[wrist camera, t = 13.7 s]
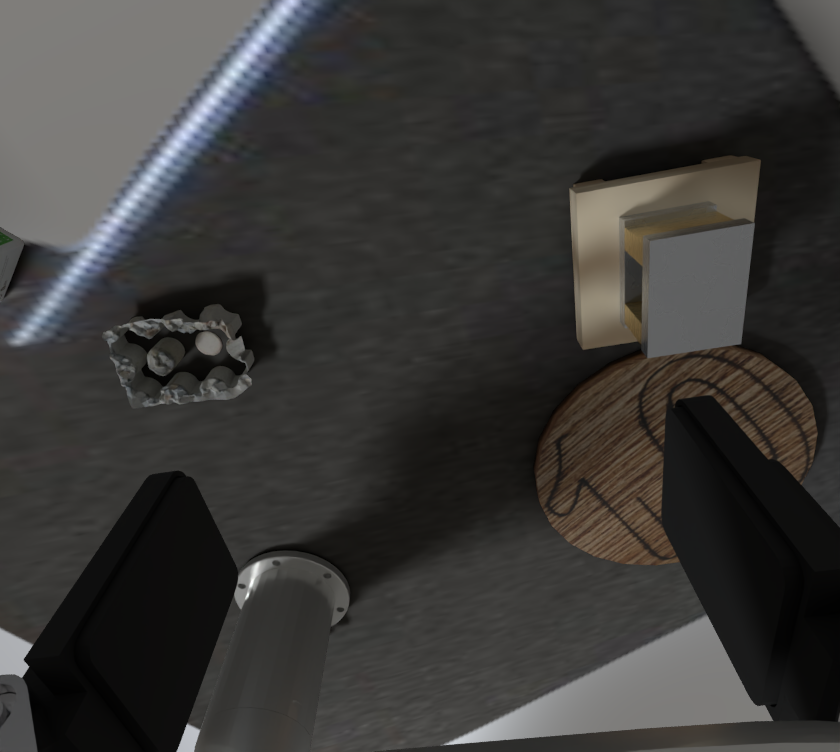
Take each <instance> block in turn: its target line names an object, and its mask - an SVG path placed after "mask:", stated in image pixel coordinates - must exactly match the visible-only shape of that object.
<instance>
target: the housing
mask: <svg viewBox="0 0 840 752" xmlns="http://www.w3.org/2000/svg"><path fill="white" fill-rule="evenodd" d="M754 226H755V223H754V222H752V221H750V220H747V219H745V218H742V219H736V220H733V219H731V218H729V217H727V216H725V215H723V214H721V213H719V212H717V205H716V204H714V203H712V202H710V201H707V202H701V203H696V204H690V205H684V206H679V207H673V208H667V209H662V210H656V211H650V212H645V213H639V214H633V215H628V216H622V217H619V281H620V323H621V324H622V326H623V327H624V328H629V330H630V331H631V332H632V334H633V335H634V336H635V337H636V339H637V340H638V341H639V343H640V344H641V351H642V352H643V353H644V354H645V356H646V357H647V358H653V357H660V356H666V355H673V354H679V353H686V352H692V351H699V350H706V349H712V348H719V347H725V346H732V345H738V344H741V341H742V332H743V323H744V314H745V306H746V297H747V288H748V279H749V270H750V261H751V253H752V244H753V235H754Z"/></svg>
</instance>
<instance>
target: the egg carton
mask: <svg viewBox="0 0 840 752" xmlns="http://www.w3.org/2000/svg"><path fill="white" fill-rule="evenodd" d="M241 325H242V322H241V320H240V316H239V314H234V313H230V312H228V311H226V310H225V309H224V308H223V307H222V306H221V305H219V304H214V305H209V306H208V307H204V310H203V312H201V314H200V317H199V320H194V319H191V318H189V317H187V316H185V315H184V314H183V312H182V311H181V310H178V311H175V312H173V313H170V314H168V315H165V316H164V317H163V318H162V319H148V320H145V319H144V318H143V317H142V316H141V317H134V318H132V319H130V321H129V323H128V324H125V325H122V326H114V327H113V328H112V329H111V330H110V331H107V332H103V334H102V338H103V339H104V341H107V342H108V345H109V347H110V359H111V360H112V361H114V363H115V366H116V372H117V373H118V375H119V378H120V381H121V386H124V387H125V388H126V390H127V396H128V399H129V402H130V404H131V407H132V408H134V409H136V408H141V407H147V406H155V405H158V404H162V403H166V404H171V403H173V402H176V403H178V404H184V403H188V402H197V401H205V400H228V399H232V398H235V397H237V396H238V395H240V394H241V393H242V392H243V391H245V390H246V389H247V388H248V387H250V386H251V385H252V381H251V379H250V377H249V376H248V375H247V372H248V371H249V369H250V367H251V366H252V364H253V362H254V356H253V352H252V350H247V349H245V347H244V344H243V340H242V337H241V336H240V337H239V338H236V337H235V334H236V332H237V331H238V329H239V328H240V327H241ZM164 326H166V327H167V328H168V329H169V330H170V331H172V332H173V331H175V330H178V331H180V332H182V333H186V332H189V333H190V334H191V333H193V332H194V331H195V330H196V329H198V330H208V329H221V330H223V331H224V332H225V333H226V335H227V337H228V338H229V339H228V341H227V343H226V344H227V347H226V348H227V351H228V353H229V354H230V355H231V356H232V357H233V358H235V359H237V360H239V361H241V362H243V363H245V364H246V366H247V367H246V369H245V370H244V372H243V374H242V375H239V376H236V375H235V374H234V372H233V371H232V370H231V369H229V368H227V367H224V366H217V367H215V368H213V369H212V370H211V371H210V373H209V374H208V375H207V377H206V378H205V380H204V381H198V380H197V378H196V377H195V376H194V375H192V374H190V373H188V372H179V373H177V374H175V375H174V377H173V378H172V379H171V380H170V382H169V383H168V384H167V385H166V386H165V387H163V386H162V385H161V384H160V383H159V382H158V381H157V380H155V379H153V378H149V377H145V376H144V374H143V372H142V370H141V369H142V368H143V366H144V365H145V364H146V362H147V361H148V367H149V369H151V370H152V371H154V372H155V373H156V374H158V375H161V376H166V375H167V374H169V373H170V372H171V371H172V370H173V369H174V368H175V367H176V366H177V365H178V363H179V362H180V361H181V360H182V358H183V357H184V354H185V349H184V347H183V345H182V344H181V342H179V341H178V340H176V339H174V338H170V337H166V338H163V339H161V340H160V341H159V342H158V343H157V344H156V345H155V346H154V347H153V348H152V349H151V350H150V351H149V353H148V355H147V352H146V351H145V350H144V349H143V348H142V347H141V346H139V345H137V344H132V343H128V342H127V340H126V338H125V336H124V334H125V333H126V332H127V331H128V330H131V331H134V332H135V333H136V334H137V335H139V336H144V337H146V338H148V339H151V338H153V337H154V336H155V335H156V334H157V333H158V332H159V331H160V330H161V329H162V328H163V327H164ZM195 344H196V346H197V348H198V349H199V350H200V351H201V352H202V353H204V354H206V355H216V354H218V353H219V352H220V351H221V349H222V346H223V344H222V341H221V339H220V338H219V337H218V336H217V335H216V334H215V333H212V332H210V331H204V332H201V333H199V334H198V335H197V337H196V339H195Z"/></svg>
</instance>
